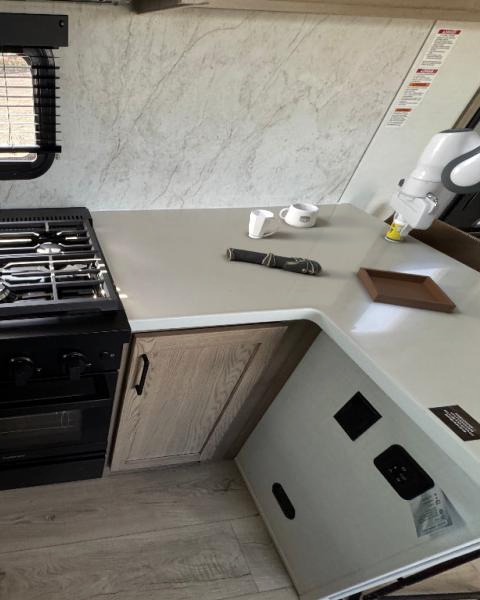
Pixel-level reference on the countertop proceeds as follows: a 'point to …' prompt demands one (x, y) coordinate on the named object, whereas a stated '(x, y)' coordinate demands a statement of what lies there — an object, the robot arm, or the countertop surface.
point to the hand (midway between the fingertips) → (398, 230)
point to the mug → (301, 215)
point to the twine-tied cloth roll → (275, 260)
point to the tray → (405, 290)
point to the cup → (261, 223)
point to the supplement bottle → (396, 230)
